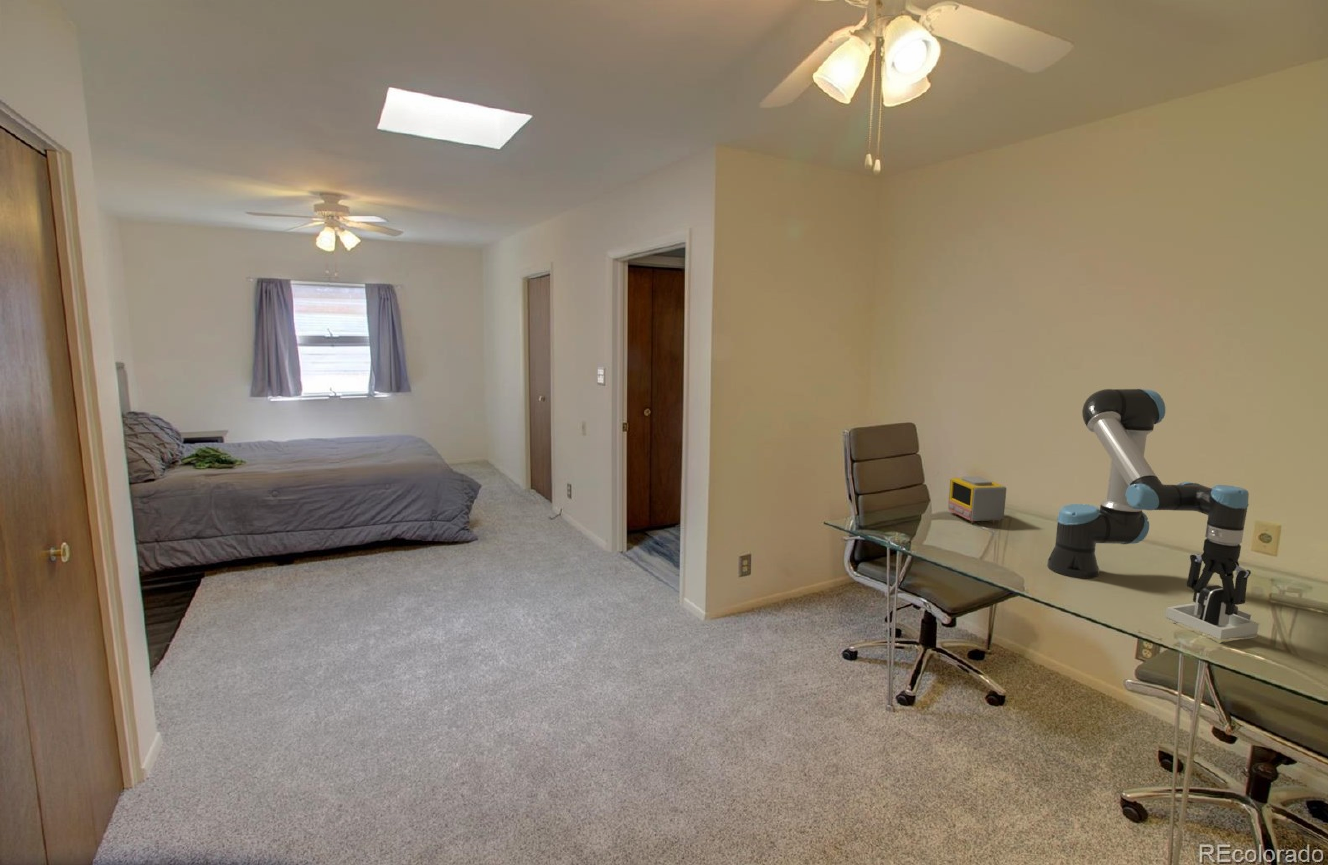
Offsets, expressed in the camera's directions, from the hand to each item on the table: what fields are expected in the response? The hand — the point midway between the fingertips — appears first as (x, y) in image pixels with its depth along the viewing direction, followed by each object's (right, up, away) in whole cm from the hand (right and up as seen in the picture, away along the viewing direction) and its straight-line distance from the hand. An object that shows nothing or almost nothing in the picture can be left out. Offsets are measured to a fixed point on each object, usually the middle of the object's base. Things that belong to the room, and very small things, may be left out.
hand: (1210, 619), depth 170 cm
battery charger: (0, -2, +1) cm, 2 cm away
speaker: (+10, -1, +8) cm, 13 cm away
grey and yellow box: (-14, +14, +103) cm, 105 cm away
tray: (0, -3, 0) cm, 3 cm away
